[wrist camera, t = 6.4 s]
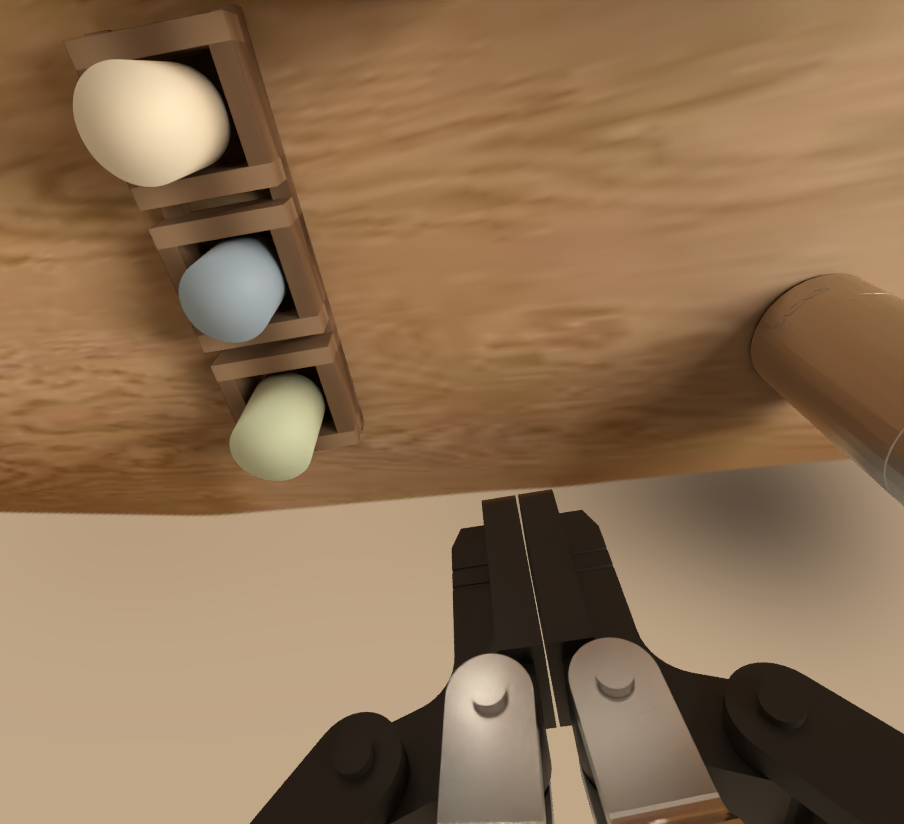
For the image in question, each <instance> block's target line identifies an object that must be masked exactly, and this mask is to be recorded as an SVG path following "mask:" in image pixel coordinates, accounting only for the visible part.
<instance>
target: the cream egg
mask: <svg viewBox="0 0 904 824" xmlns="http://www.w3.org/2000/svg"><path fill="white" fill-rule="evenodd" d="M73 114H74V119H75V124H76V127H77V130H78V132H79V134H80V137H81V139H82V141H83V142H84V144H85V146H86V148H87V149H88V150H89V152H90V153H91V155H92V156H93V157H94V158H95V159H96V160H97V161H98V162H99V163H100V164H101V165H102V166H103V167H104V168H105V169H106V170H108V171H109V172H110V173H112V174H113V175H115V176H116V177H118V178H120V179H122V180H124V181H126V182H128V183H131V184H134V185H138V186H144V187H157V186H163V185H166V184H169V183H171V182H173V181H176V180H178V179H180V178H182V177H185V176H187V175H189V174H192V173H194V172H196V171H198V170H201V169H203V168H205V167H208V166H210V165H212V164H214V163H215V162H216V161H218V160H219V159H220V158H221V157H222V155H223V154H224V153H225V151H226V149H227V147H228V144H229V141H230V136H231V121H230V116H229V112H228V109H227V106H226V104H225V101H224V99H223V97H222V96H221V94H220V92H219V91H218V89H217V88H216V87H215V86H214V84H213V83H212V82H211V81H210V80H209V79H208V78H207V77H206V76H205V75H203V74H202V73H200V72H199V71H198V70H196V69H194V68H192V67H190V66H188V65H185V64H182V63H178V62H169V61H145V60H121V59H111V60H105V61H102V62H99V63H96V64H94V65H93V66H91V67H90V68H88V69H87V70H86V71H85V72H84V73H83V74H82V76H81V77H80V79H79V81H78V82H77V85H76V88H75V90H74V96H73Z"/></svg>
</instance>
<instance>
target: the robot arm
mask: <svg viewBox="0 0 904 824" xmlns="http://www.w3.org/2000/svg"><path fill="white" fill-rule="evenodd" d="M750 354H751V359H752V364H753V366H754V368H755V370H756V372H757V373H758V374H759V375H760V376H761V377H762V378H763V379H764V380H765V381H766V382H767V383H768V384H769V385H770V386H771V387H772V388H773V389H775V390H776V391H777V392H778V393H779V394H780V395H781V396H782V397H783V398H785V399H786V400H787V401H788V402H789V403H790V404H791V405H792V406H793V407H794V408H795V409H796V410H797V411H799V412H800V413H801V414H802V415H803V416H804V417H805V418H806V419H807V420H809V421H810V422H811V423H812V424H813V425H814V426H815V427H816V428H817V429H818V430H820V431H821V432H822V433H823V434H824V435H825V436H826V437H827V438H828V439H830V440H831V441H832V442H833V443H834V444H835V445H836V446H837V447H838V448H839V449H841V450H842V451H843V452H844V453H845V454H846V455H847V456H848V457H849V458H851V459H852V460H853V461H854V462H855V463H856V464H857V465H858V466H859V467H861V468H862V469H863V470H864V471H865V472H866V473H867V474H868V475H869V476H871V477H872V478H873V479H874V480H875V481H876V482H877V483H878V484H879V485H880V486H882V487H883V488H884V489H885V490H886V491H887V492H888V493H889V494H890V495H892V496H893V497H894V498H895V499H897V501H899V502H900V503H901V504H902V505H903V506H904V300H903V299H901V298H899V297H897V296H895V295H893V294H891V293H889V292H887V291H885V290H882V289H880V288H878V287H876V286H874V285H872V284H870V283H868V282H866V281H863V280H861V279H859V278H856V277H853V276H850V275H844V274H831V275H823V276H819V277H816V278H813V279H810V280H807V281H805V282H803V283H801V284H799V285H797V286H795V287H793V288H792V289H791V290H789V291H788V292H786V293H785V294H784V295H782V296H781V297H780V298H779V299H778V300H777V301H776V302H775V303H774V304H772V305H771V306H770V308H769V309H768V310H767V311H766V313H765V314H764V315H763V317H762V318H761V320H760V322H759V324H758V326H757V327H756V329H755V332H754V335H753V338H752V342H751V353H750ZM518 498H519V504H520V511H521V517H522V522H523V529H524V535H525V541H526V548H527V553H528V559H529V565H530V570H531V576H532V581H533V586H534V591H535V597H536V602H537V607H538V613H539V617H540V623H541V628H542V634H543V639H544V644H545V649H546V654H547V660H548V665H549V670H550V676H551V681H552V686H553V691H554V696H555V702H556V706H557V712H558V717H559V722H560V726H561V727H562V726H570V725H572V727H573V731H574V736H575V741H576V746H577V751H578V756H579V764H580V771H581V776H582V780H583V783H584V787H585V791H586V794H587V798H588V801H589V805H590V808H591V812H592V816H593V819H594V823H595V824H904V734H903V733H901V732H900V731H897V730H896V729H894V728H893V727H891V726H889V725H888V724H886V723H884V722H883V721H881V720H879V719H878V718H876V717H874V716H872V715H871V714H869V713H868V712H866V711H864V710H862V709H861V708H859V707H857V706H856V705H854V704H852V703H851V702H849V701H847V700H846V699H844V698H842V697H841V696H839V695H837V694H836V693H834V692H832V691H830V690H829V689H827V688H825V687H824V686H822V685H820V684H819V683H817V682H815V681H814V680H812V679H810V678H809V677H807V676H805V675H803V674H802V673H800V672H798V671H796V670H794V669H791V668H789V667H786V666H783V665H779V664H774V663H753V664H748V665H746V666H743V667H741V668H739V669H738V670H736V671H735V672H734V673H733V674H732V675H731V676H730V678H729V679H725V678H719V677H714V676H707V675H702V674H697V673H691V672H687V671H683V670H680V669H678V668H675V667H673V666H671V665H669V664H667V663H665V662H663V661H662V660H660V659H659V658H658V657H656V656H655V655H654V654H653V653H652V652H651V651H650V650H649V649H648V648H647V647H646V646H645V644H644V643H643V641H642V640H641V638H640V636H639V634H638V632H637V629H636V627H635V624H634V621H633V618H632V615H631V613H630V610H629V607H628V604H627V602H626V599H625V597H624V594H623V591H622V588H621V585H620V583H619V580H618V577H617V575H616V572H615V569H614V568H613V565H612V561H611V558H610V556H609V553H608V550H607V549H606V545H605V542H604V539H603V536H602V534H601V531H600V529H599V526H598V525H597V524H596V523H595V522H594V521H593V520H592V519H591V518H590V517H589V516H587V514H586V513H585V512H584V511H583V510H579V511H572V512H565V513H559V512H558V508H557V504H556V501H555V498H554V494H553V491H552V489H550V490H544V491H538V492H531V493H525V494H519V495H518ZM482 510H483V520H484V525H483V526H477V527H470V528H463V529H461V530H460V532H459V534H458V536H457V538H456V540H455V543H454V545H453V547H452V570H453V574H452V576H453V577H452V579H453V615H454V616H453V617H454V653H455V658H454V667H453V672H452V674H451V677H450V679H449V681H448V683H447V685H446V686H445V688H444V689H443V690H442V692H441V693H440V694H439V695H438V696H437V697H436V698H435V699H434V700H432V701H431V702H430V703H429V704H427V705H425V706H424V707H422V708H420V709H418V710H416V711H414V712H412V713H410V714H408V715H406V716H404V717H402V718H400V719H398V720H396V721H394V722H390V721H389V720H388V719H387V718H386V717H384V716H382V715H380V714H377V713H372V712H360V713H357V714H352V715H350V716H347V717H345V718H343V719H342V720H340V721H338V722H337V723H336V724H335V725H334V726H332V727H331V728H330V729H329V730H328V731H327V732H326V733H325V734H324V736H323V737H322V738H321V739H320V740H319V742H318V743H317V744H316V745H315V746H314V747H313V749H312V750H311V751H310V752H309V754H308V755H307V756H306V757H305V758H304V759H303V761H302V762H301V763H300V764H299V765H298V767H297V768H296V769H295V770H294V771H293V773H292V774H291V775H290V776H289V777H288V779H287V780H286V781H285V782H284V783H283V785H282V786H281V787H280V788H279V789H278V790H277V792H276V793H275V794H274V795H273V796H272V798H271V799H270V800H269V801H268V803H267V804H266V805H265V806H264V807H263V808H262V810H261V811H260V812H259V813H258V814H257V816H256V817H255V818H254V819H253V820H252V822H251V823H250V824H554V814H553V804H552V793H551V782H550V778H551V769H552V768H551V759H550V753H549V747H548V741H547V735H546V729H548V728H556V721H555V715H554V709H553V703H552V696H551V690H550V684H549V678H548V671H547V666H546V659H545V653H544V647H543V641H542V636H541V630H540V625H539V620H538V614H537V609H536V604H535V598H534V593H533V588H532V583H531V578H530V572H529V566H528V561H527V556H526V550H525V545H524V540H523V535H522V529H521V524H520V518H519V513H518V508H517V503H516V498H515V495H514V496H508V497H501V498H495V499H489V500H483V501H482Z"/></svg>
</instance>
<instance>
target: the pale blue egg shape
mask: <svg viewBox="0 0 904 824" xmlns="http://www.w3.org/2000/svg"><path fill="white" fill-rule="evenodd" d="M288 290H289V285H288V282H287V279H286V276H285V273H284V270H283V267H282V264H281V261H280V258H279V255H278V252H277V249H276V246H275V243H274V242H273V241H271V240H270V239H268V238H266V237H264V236H262V235H260V234H257V233H249V234H244V235H238V236H232V237H227V238H224V239H222V240H221V241H220V242H219V243H218V244H216V245H215V246H214V247H213V248H212V249H210V250H209V251H208V252H207V253H206V254H204V255H203V256H202V257H201V258H200V259H199V260H197V261H196V262H195V263H194V264H193V265H191V266H190V267H189V268H188V269H187V270H186V271H185V273H184V274H183V276H182V278H181V281H180V284H179V300H180V304H181V307H182V309H183V311H184V313H185V315H186V316H187V318H188V319H189V321H190V322H191V323H192V324H193V325H194V326H195V327H196V328H197V329H198V330H200V331H201V332H202V333H204V334H205V335H207V336H209V337H211V338H213V339H216V340H219V341H223V342H229V343H239V342H245V341H248V340H251V339H253V338H255V337H256V336H258V335H259V334H260V333H261V332H262V331H263V330H264V329H265V328H266V326H267V324H268V323H269V321H270V319H271V318H272V316H273V315H274V313H275V311H276V310H277V308H278V306H279V305H280V303H281V302H282V300H283V298H284V297H285V295H286V294H287V292H288Z"/></svg>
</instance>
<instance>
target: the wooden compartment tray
mask: <svg viewBox="0 0 904 824" xmlns="http://www.w3.org/2000/svg"><path fill="white" fill-rule="evenodd" d="M85 36H86V37H83V38H78V39H73V40H68V41H63V42H64V45H65V47H66V49H67V51H68V53H69V56H70V58H71V60H72V62H73V64H74V67H75V69H76V71H77V73H78V75H79V78H80V77H81V76H82V74H83V73H84V72H85V71H86V70H87V69H88V68H90V67H91V66H93V65H94V64H96V63H99V62H102V61H105V60H111V59H121V60H145V61H163V60H168V59H173V58H178V57H184V56H189V55H194V54H199V53H204V52H209V51H211V54H212V57H213V60H214V63H215V66H216V69H217V72H218V75H219V78H220V81H221V84H222V87H223V90H224V93H225V96H226V99H227V102H228V105H229V108H230V111H231V114H232V117H233V120H234V123H235V126H236V129H237V132H238V135H239V138H240V141H241V144H242V147H243V150H244V153H245V156H246V159H247V161H246V162H241V163H236V164H230V165H225V166H219V167H214V168H209V169H203V170H198V171H196V172H194V173H192V174H189V175H187V176H185V177H182V178H180V179H178V180H176V181H173V182H171V183H169V184H166V185H163V186H157V187H144V186H138V185H134V184H131V183H128V182H127V184H128V186H129V188H130V190H131V192H132V195H133V197H134V199H135V201H136V204H137V206H138V208H139V210H140V211H144V210H149V209H155V208H160V209H161V211H162V214H163V216H164V218H165V220H163V221H161V222H160V223H158V224H156V225H154V226H153V227H151V228H149V229H148V230H149V232H150V234H151V237H152V239H153V241H154V243H155V245H156V248H157V250H158V252H159V254H160V257H161V259H162V261H163V263H164V265H165V268H166V270H167V272H168V274H169V276H170V279H171V281H172V283H173V285H174V287H175V290H176V292H177V294H178V296H179V284H180V281H181V278H182V276H183V274H184V273H185V271H186V270H187V269H188V268H189V267H190V266H191V265H193V264H194V263H195V262H196V261H197V260H199V259H200V258H201V257H202V256H203V255H204V254H206V253H207V250H206V248H205V245H204V243H203V242H204V241H210V240H215V239H221V238H227V237H232V236H238V235H244V234H249V233H255V232H260V231H266V230H270V231H271V234H272V237H273V240H274V243H275V246H276V249H277V252H278V255H279V258H280V261H281V264H282V267H283V270H284V273H285V276H286V279H287V282H288V285H289V288H290V291H291V294H292V297H293V300H294V302H288V303H282V304H280V305H279V306H278V308H277V310H276V311H275V313H274V315H273V316H272V318H271V319H270V321H269V323H268V324H267V326H266V328H265V329H264V330H263V331H262V332H261V333H260V334H259V335H258V336H256V337H255V338H253V339H251V340H248V341H245V342H239V343H229V342H223V341H219V340H216V339H213V338H211V337H209V336H207V335H205V334H204V333H202V332H201V331H200V330H198V329H197V328H196V327H195V326H194V325H193V324H192V323H191V322H190V323H191V325H192V327H193V329H194V332H195V334H196V336H197V338H198V340H199V343H200V345H201V347H202V349H203V351H204V353H207V352H213V351H219V350H222V351H221V352H220V354H219V355H218V356H217V358H216V359H215V361H214V362H213V363H212V365H211V366H210V367H211V369H212V371H213V374H214V376H215V378H216V380H217V382H218V385H219V387H220V389H221V391H222V393H223V396H224V398H225V400H226V402H227V404H228V407H229V409H230V411H231V413H232V416H233V418H234V420H235V422H236V424H237V422H238V420H239V419H240V417H241V415H242V413H243V411H244V409H245V407H246V405H247V403H248V402H249V400H250V398H251V396H252V394H253V392H254V390H255V388H256V387H257V385H258V383H259V382H260V381H259V379H258V376H257V375H263V374H269V373H275V372H281V371H287V370H293V369H299V368H305V367H311V366H316V369H317V372H318V375H319V378H320V381H321V384H322V387H323V390H324V393H325V396H326V399H327V402H328V405H329V408H330V410H325V413H324V417H323V420H322V424H321V427H320V431H319V434H318V438H317V441H316V445H315V448H314V451H318V450H325V449H331V448H337V447H344V446H350V445H356V444H359V438H360V432H361V430H363V426H364V419H363V416H362V413H361V409H360V406H359V402H358V399H357V396H356V392H355V389H354V386H353V382H352V379H351V376H350V372H349V369H348V365H347V362H346V359H345V355H344V352H343V349H342V345H341V342H340V339H339V335H338V332H337V329H336V325H335V322H334V318H333V315H332V312H331V308H330V305H329V302H328V298H327V295H326V292H325V288H324V285H323V282H322V278H321V275H320V271H319V268H318V265H317V261H316V258H315V255H314V251H313V248H312V245H311V241H310V238H309V234H308V231H307V228H306V224H305V221H304V218H303V214H302V211H301V208H300V204H299V201H298V198H297V194H296V191H295V187H294V184H293V181H292V177H291V174H290V171H289V167H288V164H287V161H286V157H285V154H284V151H283V147H282V144H281V140H280V137H279V134H278V130H277V127H276V124H275V120H274V117H273V114H272V110H271V107H270V103H269V100H268V97H267V93H266V90H265V87H264V83H263V80H262V77H261V73H260V70H259V67H258V63H257V60H256V56H255V53H254V50H253V46H252V43H251V40H250V36H249V33H248V30H247V26H246V23H245V20H244V16H243V13H242V9H241V7H239V6H236V5H231V6H226V7H221V8H216V9H212V12H209V13H204V14H199V15H194V16H189V17H184V18H179V19H174V20H169V21H164V22H159V23H154V24H149V25H144V26H139V27H134V28H128V29H123V30H118V31H110V30H105V31H100V32H95V33H90V34H85ZM265 188H269V190H270V193H271V196H272V197H270V198H264V199H259V200H253V201H248V202H242V203H237V204H231V205H226V206H220V207H215V208H209V209H204V210H198V211H192V212H191V210H190V208H189V205H188V202H193V201H199V200H204V199H210V198H215V197H221V196H226V195H232V194H237V193H243V192H248V191H254V190H259V189H265Z"/></svg>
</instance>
